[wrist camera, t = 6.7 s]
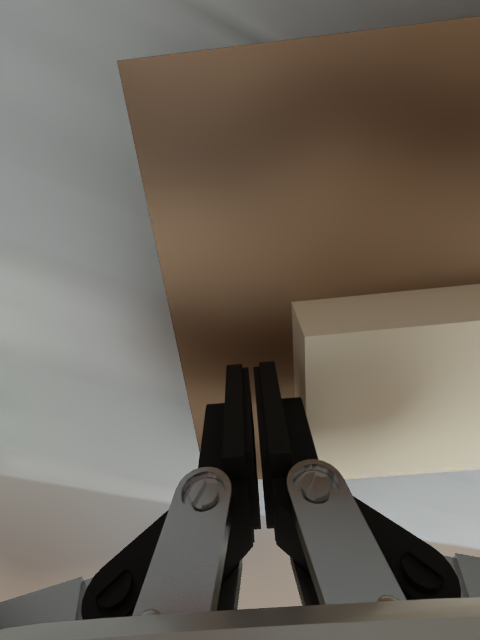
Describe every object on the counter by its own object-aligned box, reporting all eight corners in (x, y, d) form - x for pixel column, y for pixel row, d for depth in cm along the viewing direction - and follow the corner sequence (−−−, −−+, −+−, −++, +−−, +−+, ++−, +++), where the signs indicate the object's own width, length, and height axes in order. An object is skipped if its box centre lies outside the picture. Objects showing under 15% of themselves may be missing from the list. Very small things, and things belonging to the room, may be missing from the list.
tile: (291, 302, 11) (304, 336, 9) (651, 266, 11) (758, 295, 9) (296, 430, 14) (307, 482, 12) (587, 406, 14) (656, 456, 11)
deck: (142, 81, 11) (116, 60, 8) (588, 28, 10) (687, -10, 8) (210, 441, 18) (206, 482, 15) (476, 421, 17) (512, 460, 15)
